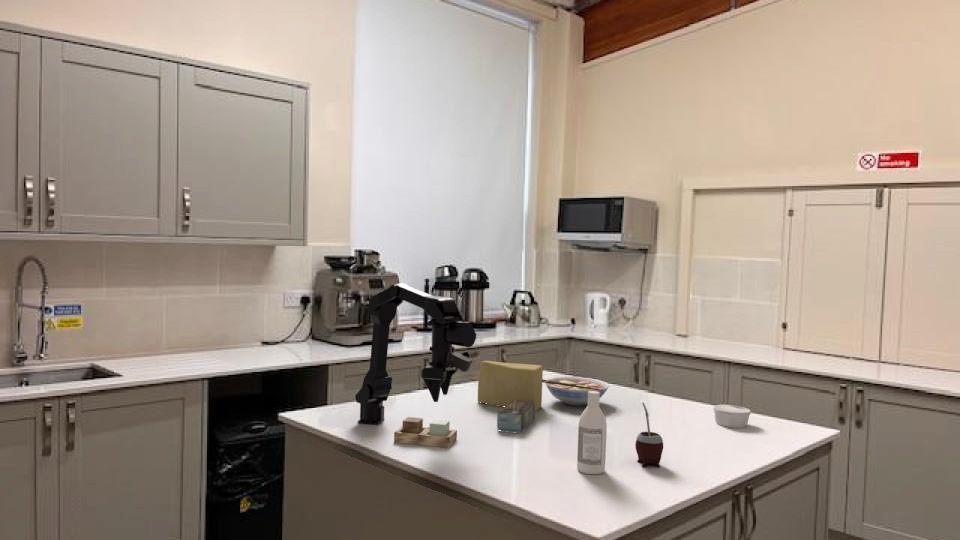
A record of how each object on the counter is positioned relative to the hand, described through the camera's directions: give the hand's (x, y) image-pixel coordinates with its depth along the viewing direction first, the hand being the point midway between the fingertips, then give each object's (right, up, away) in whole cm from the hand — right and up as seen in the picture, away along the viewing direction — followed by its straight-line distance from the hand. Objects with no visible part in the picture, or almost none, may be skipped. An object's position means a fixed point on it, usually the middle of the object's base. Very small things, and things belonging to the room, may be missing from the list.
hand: (440, 398), depth 194 cm
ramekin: (+92, -14, +30) cm, 98 cm away
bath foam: (+39, -15, -20) cm, 46 cm away
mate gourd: (+55, -15, -13) cm, 58 cm away
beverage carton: (+22, -13, +21) cm, 34 cm away
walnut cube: (-8, -11, +2) cm, 14 cm away
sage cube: (0, -11, +1) cm, 11 cm away
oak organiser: (-4, -12, +2) cm, 13 cm away
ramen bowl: (+45, -12, +52) cm, 70 cm away
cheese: (+21, -11, +45) cm, 51 cm away
